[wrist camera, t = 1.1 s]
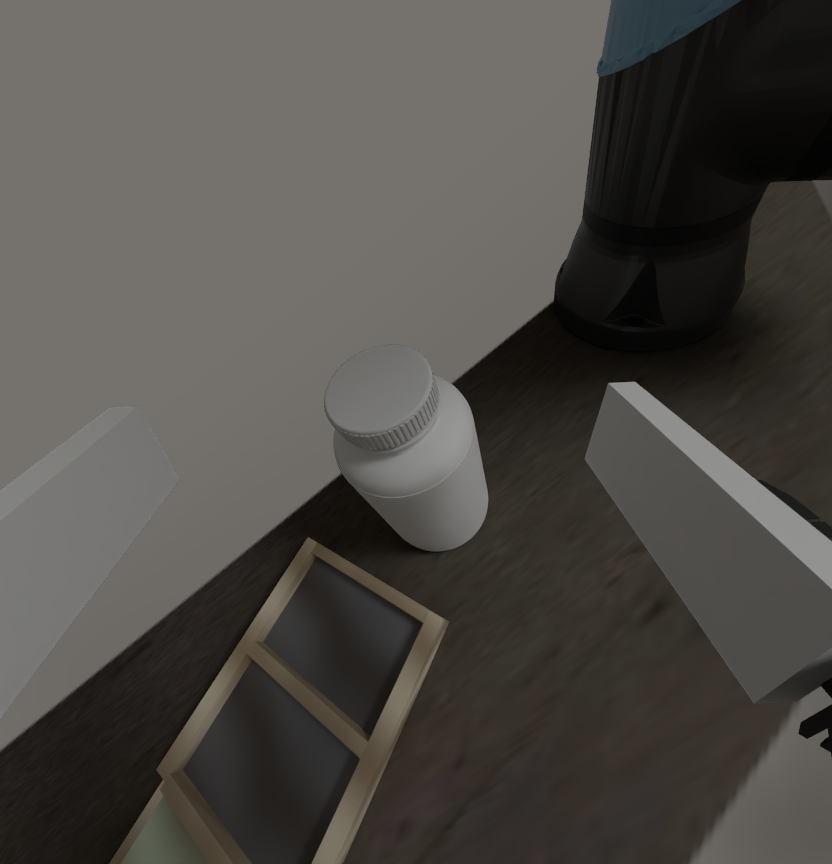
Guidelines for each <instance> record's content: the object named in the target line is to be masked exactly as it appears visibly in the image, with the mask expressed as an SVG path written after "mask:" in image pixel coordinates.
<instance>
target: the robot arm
mask: <svg viewBox="0 0 832 864" xmlns="http://www.w3.org/2000/svg"><path fill="white" fill-rule="evenodd" d="M597 73H598V76H599V83H598V91H597V100H596V108H595V116H594V124H593V133H592V141H591V150H590V158H589V166H588V175H587V183H586V191H585V200H584V208H583V216H582V221H581V224H580V226H579V228H578V230H577V233H576V235H575V238H574V240H573V243H572V246H571V249H570V251H569V254H568V257H567V259H566V260H565V261H564V263H563V264H562V266H561V268H560V270H559V272H558V275H557V279H556V283H555V295H554V307H555V311H556V314H557V316H558V318H559V319H560V321H561V322H562V323H563V325H564V326H565V327H566V328H567V329H569V330H570V331H571V332H572V333H574V334H575V335H577V336H578V337H580V338H582V339H584V340H586V341H588V342H591V343H594V344H596V345H600V346H603V347H607V348H612V349H617V350H625V351H657V350H665V349H671V348H675V347H679V346H683V345H686V344H689V343H692V342H694V341H697V340H699V339H701V338H703V337H705V336H707V335H708V334H710V333H712V332H713V331H714V330H716V329H717V328H718V327H719V326H720V325H721V324H722V323H723V322H724V321H725V320H726V319H727V317H728V316H729V314H730V312H731V311H732V309H733V307H734V305H735V304H736V302H737V300H738V299H739V297H740V295H741V292H742V290H743V287H744V282H745V263H746V257H747V251H748V244H749V236H750V228H751V220H752V217H753V215H754V213H755V211H756V209H757V207H758V205H759V203H760V201H761V199H762V197H763V195H764V193H765V191H766V189H767V187H768V186H769V184H770V183H771V182H782V181H812V180H832V0H611V6H610V13H609V18H608V24H607V29H606V35H605V41H604V48H603V53H602V57H601V58H600V60H599V62H598V67H597ZM585 460H586V462H587V463H588V465H589V466H590V468H591V469H592V470H593V472H594V473H595V475H596V476H597V478H598V479H599V481H600V482H601V483H602V485H603V486H604V488H605V489H606V491H607V492H608V494H609V495H610V496H611V498H612V499H613V501H614V502H615V504H616V505H617V507H618V508H619V509H620V511H621V512H622V514H623V515H624V517H625V518H626V520H627V521H628V522H629V524H630V525H631V527H632V528H633V530H634V531H635V533H636V534H637V535H638V537H639V538H640V540H641V541H642V543H643V544H644V546H645V547H646V548H647V550H648V551H649V553H650V554H651V556H652V557H653V559H654V560H655V561H656V563H657V564H658V566H659V567H660V569H661V570H662V572H663V573H664V574H665V576H666V577H667V579H668V580H669V582H670V583H671V585H672V586H673V587H674V589H675V590H676V592H677V593H678V595H679V596H680V598H681V599H682V600H683V602H684V603H685V605H686V606H687V608H688V609H689V611H690V612H691V613H692V615H693V616H694V618H695V619H696V621H697V622H698V624H699V625H700V626H701V628H702V629H703V631H704V632H705V634H706V635H707V637H708V638H709V639H710V641H711V642H712V644H713V645H714V647H715V648H716V650H717V651H718V652H719V654H720V655H721V657H722V658H723V660H724V661H725V663H726V664H727V665H728V667H729V668H730V670H731V671H732V673H733V674H734V676H735V677H736V679H737V680H738V681H739V683H740V684H741V686H742V687H743V689H744V690H745V692H746V693H747V694H748V696H749V697H750V699H751V700H752V702H753V703H754V704H756V703H772V702H787V701H798V700H800V699H801V698H803V697H804V696H806V695H808V694H809V693H811V692H812V691H814V690H815V689H817V688H818V687H820V686H822V688H823V689H824V690H825V691H826V692H827V693H828V695H829V696H830V697H831V698H832V527H830V526H829V525H828V524H827V523H825V522H820V521H819V517H818V516H816V515H815V514H814V513H812V512H811V511H810V510H809V509H807V508H806V507H805V506H803V505H802V504H801V503H800V502H798V501H797V500H796V499H795V498H793V497H792V496H790V495H788V494H786V493H784V492H782V491H780V490H779V489H777V488H775V487H773V486H771V485H769V484H767V483H765V482H764V481H762V480H755V479H754V478H753V477H752V476H751V475H749V474H748V473H747V472H746V471H744V470H743V469H742V468H741V467H739V466H738V465H737V464H736V463H735V462H733V461H732V460H731V459H730V458H728V457H727V456H726V455H725V454H723V453H722V452H721V451H720V450H718V449H717V448H716V447H715V446H714V445H712V444H711V443H710V442H709V441H707V440H706V439H705V438H704V437H702V436H701V435H700V434H699V433H698V432H696V431H695V430H694V429H693V428H691V427H690V426H689V425H688V424H686V423H685V422H684V421H683V420H682V419H680V418H679V417H678V416H677V415H675V414H674V413H673V412H672V411H670V410H669V409H668V408H667V407H665V406H664V405H663V404H662V403H661V402H659V401H658V400H657V399H656V398H654V397H653V396H652V395H651V394H649V393H648V392H647V391H646V390H645V389H643V388H642V387H641V386H640V385H638V384H637V383H636V382H620V383H608V385H607V389H606V392H605V395H604V398H603V401H602V405H601V408H600V411H599V414H598V417H597V421H596V424H595V427H594V430H593V433H592V436H591V440H590V443H589V446H588V449H587V452H586V456H585ZM179 480H180V479H179V477H178V476H177V474H176V472H175V470H174V469H173V467H172V465H171V464H170V462H169V460H168V458H167V456H166V455H165V453H164V451H163V449H162V447H161V446H160V444H159V442H158V440H157V439H156V437H155V435H154V433H153V431H152V430H151V428H150V426H149V425H148V423H147V421H146V419H145V417H144V415H143V414H142V412H141V410H140V408H139V407H138V406H127V407H110V408H109V409H107V410H106V411H105V412H103V413H102V414H101V415H99V416H98V417H97V418H95V419H94V420H93V421H91V422H90V423H89V424H87V425H86V426H85V427H84V428H82V429H81V430H79V431H78V432H77V433H76V434H74V435H73V436H72V437H71V438H69V439H68V440H67V441H65V442H64V443H62V444H61V445H60V446H59V447H57V448H56V449H54V450H53V451H52V452H50V453H49V454H48V455H47V456H45V457H44V458H42V459H41V460H40V461H39V462H37V463H36V464H35V465H33V466H32V467H31V468H29V469H28V470H27V471H25V472H24V473H23V474H21V475H20V476H19V477H17V478H16V479H15V480H14V481H12V482H11V483H10V484H8V485H7V486H5V487H4V488H3V489H2V490H0V719H1V718H2V716H3V715H4V714H5V712H6V711H7V709H8V708H9V707H10V705H11V704H12V703H13V702H14V700H15V699H16V698H17V696H18V695H19V694H20V692H21V691H22V690H23V688H24V687H25V685H26V684H27V683H28V681H29V680H30V679H31V678H32V676H33V675H34V674H35V672H36V671H37V670H38V668H39V667H40V666H41V664H42V663H43V662H44V660H45V659H46V657H47V656H48V655H49V654H50V652H51V651H52V650H53V648H54V647H55V646H56V644H57V643H58V642H59V640H60V639H61V638H62V636H63V635H64V634H65V632H66V631H67V630H68V628H69V627H70V626H71V624H72V623H73V622H74V620H75V619H76V618H77V616H78V615H79V614H80V612H81V611H82V610H83V608H84V607H85V606H86V604H87V603H88V602H89V600H90V599H91V598H92V596H93V595H94V594H95V592H96V591H97V589H98V588H99V587H100V586H101V584H102V583H103V582H104V580H105V579H106V578H107V576H108V575H109V574H110V572H111V571H112V570H113V568H114V567H115V565H116V564H117V563H118V562H119V560H120V559H121V558H122V556H123V555H124V554H125V552H126V551H127V550H128V548H129V547H130V546H131V544H132V543H133V542H134V540H135V539H136V538H137V536H138V535H139V534H140V532H141V531H142V530H143V528H144V527H145V526H146V524H147V523H148V522H149V520H150V519H151V518H152V516H153V515H154V514H155V512H156V511H157V510H158V508H159V507H160V506H161V504H162V503H163V502H164V500H165V499H166V498H167V496H168V495H169V493H171V491H172V490H173V489H174V487H175V486H176V485H177V483H178V482H179ZM827 728H828V734H829V737H828V738H826V739H825V740H824V741H823V742H822V743H821V744H820V746H821V747H823V748H824V749H826V750H828V751H829V752H831V756H832V705H830V706H828V707H826V708H825V709H823V710H821V711H819V712H818V713H816V714H814V715H813V716H811V717H809V718H807V719H806V720H804V721H803V722H801V725H800V729H799V734H800V735H802V736H804V737H805V738H807V739H808V738H810V737H812V736H813V735H815V734H817V733H819V732H821V731H823V730H825V729H827Z"/></svg>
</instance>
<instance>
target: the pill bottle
mask: <svg viewBox="0 0 832 864" xmlns="http://www.w3.org/2000/svg"><path fill="white" fill-rule="evenodd" d="M324 404H325V406H324V407H325V412H326V415H327V417H328V419H329V421H330V422H331V424H332V425H333V426H334V427H335V432H334V452H335V456H336V460H337V463H338V466H339V468H340V470H341V472H342V474H343V475H344V477H345V478H346V479H347V481H348V482H349V483H350V484H351V485H352V486H353V487H354V488H355V489H356V490H357V491H358V492H359V493H360V494H361V496H362V497H363V498H364V499H365V500H366V501H367V502H368V503H369V504H370V505H371V506H372V507H373V508H374V509H375V510H376V511H377V512H378V513H379V514H380V515H381V516H382V518H383V519H384V520H385V521H386V522H387V523H388V524H389V525H390V526H391V527H392V528H393V529H394V530H395V531H396V532H397V533H398V534H399V535H400V536H401V537H402V538H403V539H404V540H405V541H407V542H408V543H410V544H411V545H413V546H415V547H417V548H420V549H423V550H427V551H446V550H451V549H454V548H456V547H459V546H461V545H462V544H464V543H466V542H467V541H468V540H470V539H471V538H472V537H473V536H474V535H475V534H476V533H477V531H478V530H479V528H480V527H481V525H482V523H483V521H484V519H485V516H486V513H487V507H488V491H487V486H486V481H485V476H484V470H483V465H482V460H481V455H480V450H479V445H478V439H477V434H476V429H475V424H474V419H473V415H472V412H471V409H470V407H469V404H468V403H467V401H466V399H465V398H464V396H463V395H462V394H461V393H460V392H459V390H458V389H457V388H456V387H454V386H453V385H452V384H451V383H449V382H448V381H447V380H445V379H443V378H441V377H439V376H437V375H434V374H433V370H432V368H431V366H430V364H429V362H428V360H427V359H426V358H425V357H424V356H423V355H422V354H420V353H419V352H417V351H416V350H414V349H412V348H409V347H406V346H402V345H381V346H377V347H373V348H370V349H367V350H364V351H362V352H360V353H358V354H357V355H355V356H353V357H351V358H350V359H349V360H347V361H346V362H345V363H344V364H343V365H342V366H341V367H340V368H339V369H338V370H337V371H336V372H335V374H334V375H333V376H332V378H331V380H330V382H329V384H328V386H327V389H326V393H325V400H324Z"/></svg>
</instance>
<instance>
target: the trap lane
mask: <svg viewBox="0 0 832 864" xmlns="http://www.w3.org/2000/svg"><path fill="white" fill-rule="evenodd" d="M448 623H449V622H448V621H447V620H445V619H444V618H442V617H440V616H439V615H437V614H435V613H434V612H432V611H430V610H429V609H427V608H425V607H424V606H422V605H420V604H419V603H417V602H415V601H414V600H412V599H410V598H409V597H407V596H405V595H404V594H402V593H400V592H399V591H397V590H395V589H394V588H392V587H390V586H389V585H387V584H385V583H384V582H382V581H380V580H379V579H377V578H376V577H374V576H372V575H371V574H369V573H367V572H366V571H364V570H362V569H361V568H359V567H357V566H356V565H354V564H352V563H351V562H349V561H347V560H346V559H344V558H342V557H341V556H339V555H337V554H336V553H334V552H332V551H331V550H329V549H327V548H326V547H324V546H322V545H321V544H319V543H317V542H316V541H314V540H312V539H311V538H309V537H308V538H307V539H306V541H305V542H304V544H303V545H302V547H301V548H300V550H299V552H298V553H297V555H296V556H295V558H294V559H293V561H292V562H291V564H290V565H289V567H288V568H287V570H286V571H285V573H284V575H283V576H282V578H281V579H280V581H279V582H278V584H277V585H276V587H275V588H274V590H273V591H272V593H271V594H270V596H269V598H268V599H267V601H266V602H265V604H264V605H263V607H262V608H261V610H260V611H259V613H258V614H257V616H256V617H255V619H254V621H253V622H252V624H251V625H250V627H249V628H248V630H247V631H246V633H245V634H244V636H243V637H242V639H241V640H240V642H239V644H238V645H237V647H236V648H235V650H234V651H233V653H232V654H231V656H230V657H229V659H228V660H227V662H226V663H225V665H224V667H223V668H222V670H221V671H220V673H219V674H218V676H217V677H216V679H215V680H214V682H213V683H212V685H211V686H210V688H209V690H208V691H207V693H206V694H205V696H204V697H203V699H202V700H201V702H200V703H199V705H198V706H197V708H196V709H195V711H194V713H193V714H192V716H191V717H190V719H189V720H188V722H187V723H186V725H185V726H184V728H183V729H182V731H181V732H180V734H179V736H178V737H177V739H176V740H175V742H174V743H173V745H172V746H171V748H170V749H169V751H168V752H167V754H166V755H165V757H164V759H163V760H162V762H161V763H160V765H159V766H158V768H157V769H156V770H157V772H158V773H159V774H160V776H161V777H162V779H163V780H162V782H161V784H160V785H159V787H158V788H157V790H156V791H155V793H154V795H153V796H152V798H151V799H150V801H149V802H148V804H147V805H146V807H145V809H144V810H143V812H142V813H141V815H140V816H139V818H138V820H137V821H136V823H135V824H134V826H133V827H132V829H131V830H130V832H129V834H128V835H127V837H126V838H125V840H124V841H123V843H122V845H121V846H120V848H119V849H118V851H117V852H116V854H115V855H114V857H113V859H112V860H111V862H110V863H109V864H343V863H344V860H345V858H346V856H347V854H348V851H349V849H350V847H351V844H352V842H353V840H354V838H355V835H356V833H357V831H358V828H359V826H360V824H361V822H362V819H363V817H364V815H365V813H366V810H367V808H368V806H369V803H370V801H371V799H372V797H373V794H374V792H375V790H376V787H377V785H378V783H379V781H380V778H381V776H382V774H383V771H384V769H385V767H386V765H387V762H388V760H389V758H390V756H391V753H392V751H393V749H394V746H395V744H396V742H397V740H398V737H399V735H400V733H401V730H402V728H403V726H404V724H405V721H406V719H407V717H408V715H409V712H410V710H411V708H412V705H413V703H414V701H415V699H416V696H417V694H418V692H419V689H420V687H421V685H422V683H423V680H424V678H425V676H426V674H427V671H428V669H429V667H430V664H431V662H432V660H433V658H434V655H435V653H436V651H437V648H438V646H439V644H440V642H441V639H442V637H443V635H444V633H445V630H446V628H447V626H448Z"/></svg>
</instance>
